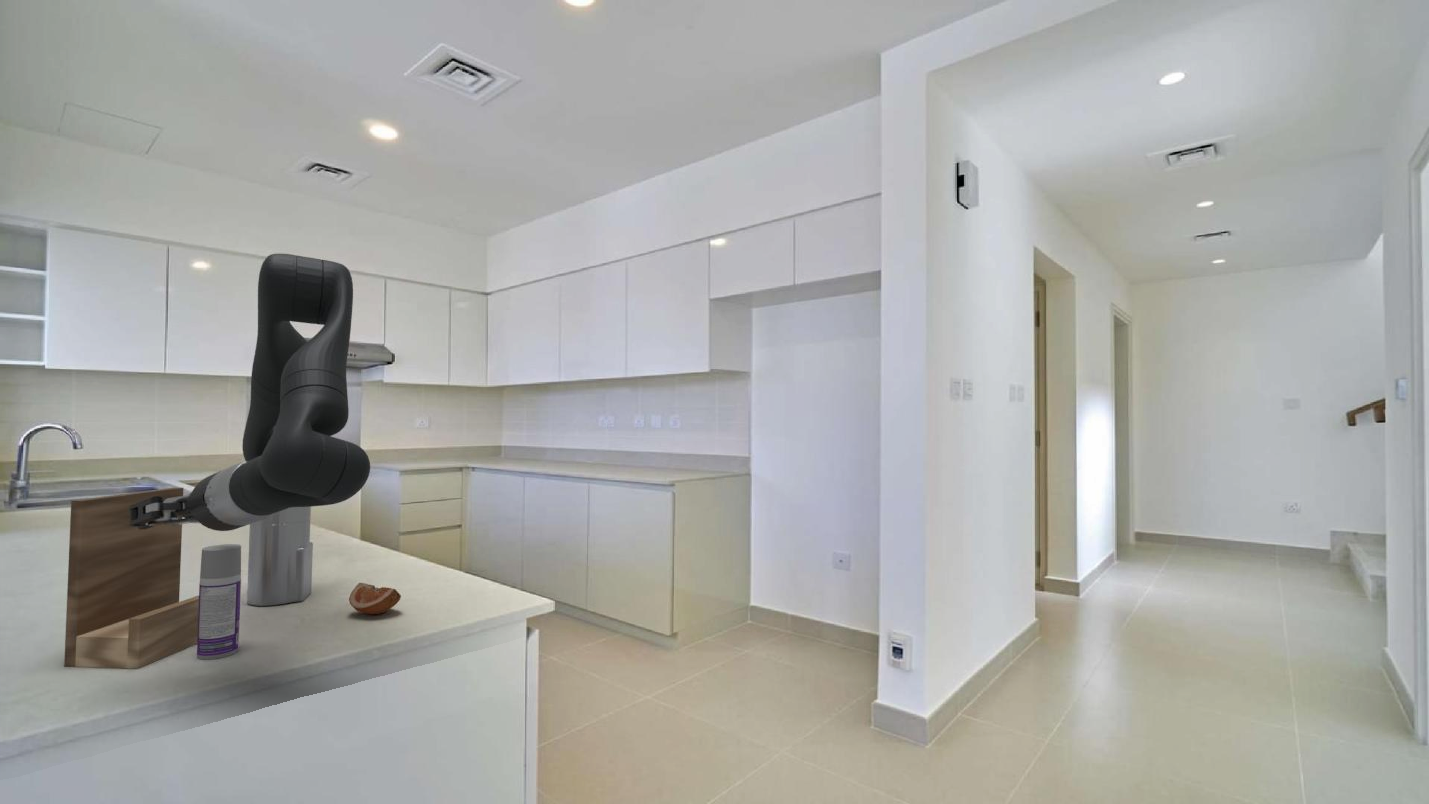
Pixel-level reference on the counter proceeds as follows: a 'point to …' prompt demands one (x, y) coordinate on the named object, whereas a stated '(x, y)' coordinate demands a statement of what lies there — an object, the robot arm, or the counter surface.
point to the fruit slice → (373, 599)
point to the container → (219, 601)
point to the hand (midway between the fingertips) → (180, 519)
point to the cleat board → (124, 586)
